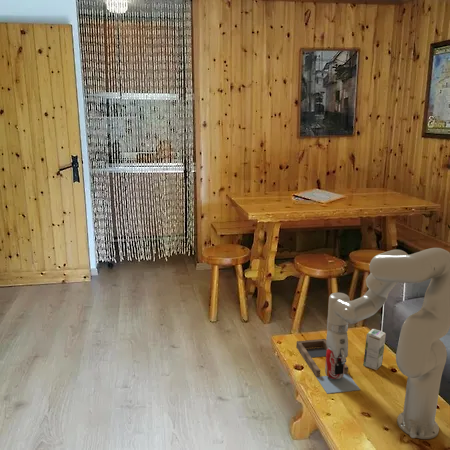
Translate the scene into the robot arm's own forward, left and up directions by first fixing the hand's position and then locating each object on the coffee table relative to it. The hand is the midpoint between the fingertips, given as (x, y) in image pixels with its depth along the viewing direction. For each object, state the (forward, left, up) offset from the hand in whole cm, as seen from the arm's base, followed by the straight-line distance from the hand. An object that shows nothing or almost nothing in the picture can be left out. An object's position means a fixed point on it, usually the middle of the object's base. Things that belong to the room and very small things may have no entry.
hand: (334, 368), depth 177 cm
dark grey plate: (+15, +11, -4) cm, 19 cm away
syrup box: (+16, -13, -4) cm, 20 cm away
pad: (-3, -2, -4) cm, 6 cm away
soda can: (0, 0, -4) cm, 4 cm away
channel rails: (+10, +7, -4) cm, 13 cm away
